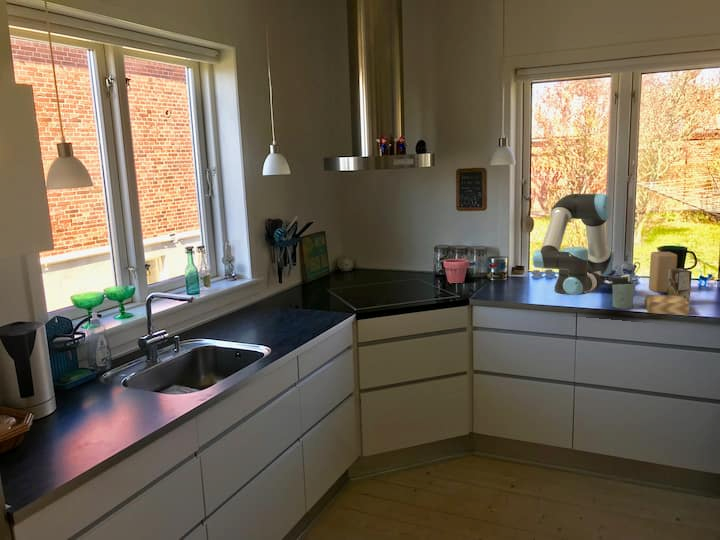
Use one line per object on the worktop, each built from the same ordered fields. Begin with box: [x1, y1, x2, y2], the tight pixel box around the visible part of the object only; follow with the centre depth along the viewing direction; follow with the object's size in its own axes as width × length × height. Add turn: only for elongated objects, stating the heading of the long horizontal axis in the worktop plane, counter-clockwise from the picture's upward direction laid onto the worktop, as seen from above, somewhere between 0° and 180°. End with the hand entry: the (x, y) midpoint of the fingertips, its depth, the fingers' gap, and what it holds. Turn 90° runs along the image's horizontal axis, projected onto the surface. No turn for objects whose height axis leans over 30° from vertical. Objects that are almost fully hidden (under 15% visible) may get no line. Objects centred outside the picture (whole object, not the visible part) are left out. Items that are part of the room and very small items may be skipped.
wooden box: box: [644, 294, 690, 316], centre depth 273 cm, size 16×16×5 cm
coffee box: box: [666, 267, 693, 304], centre depth 285 cm, size 9×6×16 cm
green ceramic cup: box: [611, 280, 637, 310], centre depth 280 cm, size 10×10×12 cm
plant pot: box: [443, 258, 469, 284], centre depth 345 cm, size 14×14×13 cm
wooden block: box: [648, 251, 678, 294], centre depth 311 cm, size 10×10×20 cm
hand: (614, 275), depth 272 cm, fingers open, 13 cm apart
